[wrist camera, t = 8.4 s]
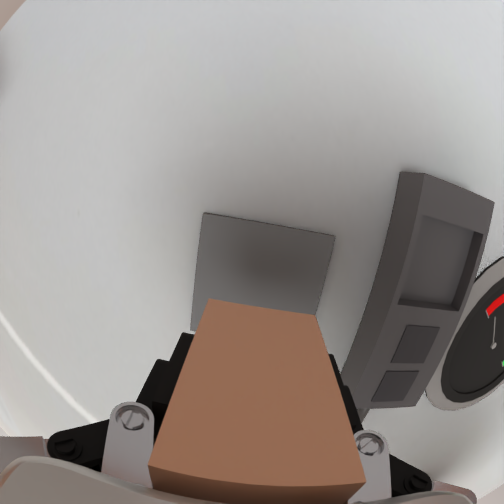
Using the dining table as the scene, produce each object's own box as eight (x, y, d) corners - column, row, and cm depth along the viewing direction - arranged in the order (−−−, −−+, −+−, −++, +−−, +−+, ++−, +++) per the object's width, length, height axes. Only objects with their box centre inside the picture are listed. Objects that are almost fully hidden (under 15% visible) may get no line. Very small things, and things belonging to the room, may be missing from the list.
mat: (334, 235, 19) (335, 236, 19) (304, 345, 22) (305, 348, 22) (204, 212, 19) (202, 213, 19) (191, 327, 22) (190, 330, 21)
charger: (315, 315, 12) (367, 484, 4) (290, 391, 13) (304, 539, 5) (208, 298, 12) (146, 467, 4) (200, 378, 13) (161, 525, 5)
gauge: (554, 301, 21) (558, 304, 20) (469, 418, 26) (472, 422, 25) (506, 211, 18) (512, 213, 17) (387, 383, 23) (390, 390, 22)
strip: (400, 172, 18) (425, 173, 15) (467, 196, 18) (495, 202, 15) (317, 424, 25) (322, 451, 21) (377, 423, 25) (386, 447, 21)
